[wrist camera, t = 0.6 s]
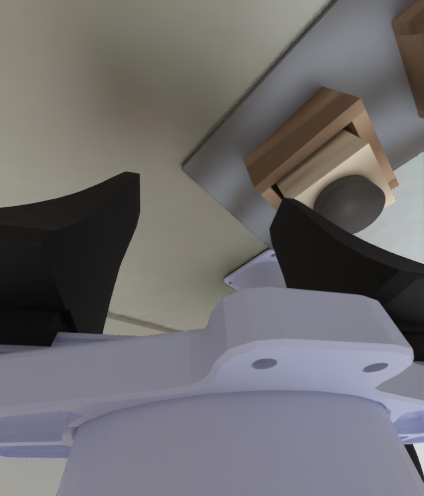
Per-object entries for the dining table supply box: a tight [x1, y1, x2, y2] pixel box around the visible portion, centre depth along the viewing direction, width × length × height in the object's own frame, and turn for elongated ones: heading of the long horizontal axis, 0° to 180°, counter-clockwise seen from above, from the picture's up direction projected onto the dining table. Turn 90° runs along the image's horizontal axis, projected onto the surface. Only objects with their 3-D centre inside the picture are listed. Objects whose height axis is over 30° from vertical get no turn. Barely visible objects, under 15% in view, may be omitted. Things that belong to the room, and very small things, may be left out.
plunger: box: [276, 129, 396, 234], centre depth 15 cm, size 5×5×5 cm
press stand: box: [181, 0, 424, 250], centre depth 15 cm, size 14×28×6 cm, turn 135°
